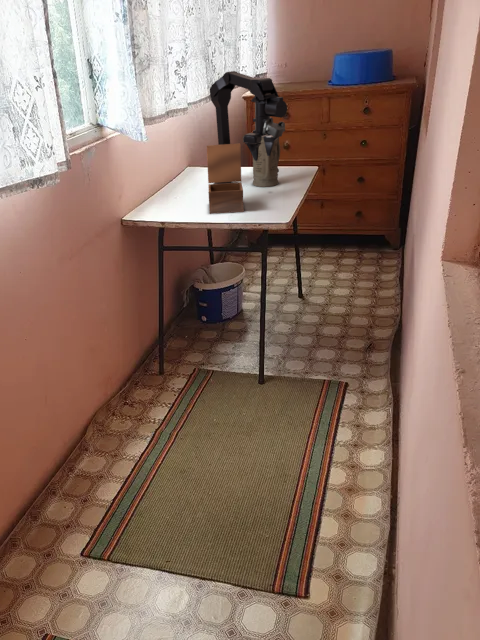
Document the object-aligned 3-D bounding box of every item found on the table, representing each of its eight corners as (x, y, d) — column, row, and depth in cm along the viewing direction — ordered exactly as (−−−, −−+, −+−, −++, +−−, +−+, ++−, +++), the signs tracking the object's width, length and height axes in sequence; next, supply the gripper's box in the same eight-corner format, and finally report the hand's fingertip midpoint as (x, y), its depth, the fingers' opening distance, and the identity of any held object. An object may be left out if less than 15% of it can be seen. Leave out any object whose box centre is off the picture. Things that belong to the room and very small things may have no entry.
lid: (240, 143, 225) (240, 143, 225) (206, 145, 225) (206, 145, 226) (241, 181, 230) (241, 181, 231) (208, 183, 231) (208, 183, 231)
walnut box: (243, 211, 224) (243, 190, 220) (209, 213, 224) (208, 192, 220) (241, 202, 234) (241, 182, 230) (209, 204, 235) (208, 184, 231)
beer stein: (270, 188, 251) (272, 136, 242) (247, 186, 256) (248, 135, 247) (286, 182, 262) (288, 132, 253) (263, 180, 267) (265, 131, 258)
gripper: (267, 120, 219) (267, 165, 227) (293, 112, 231) (292, 155, 239) (242, 118, 225) (242, 162, 233) (269, 111, 237) (268, 153, 245)
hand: (262, 158), depth 238 cm, fingers open, 9 cm apart
